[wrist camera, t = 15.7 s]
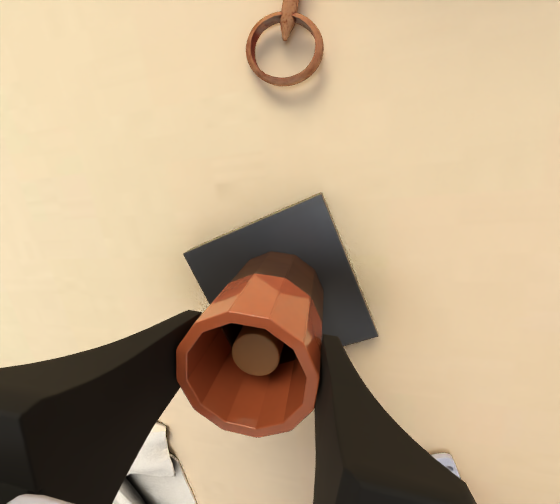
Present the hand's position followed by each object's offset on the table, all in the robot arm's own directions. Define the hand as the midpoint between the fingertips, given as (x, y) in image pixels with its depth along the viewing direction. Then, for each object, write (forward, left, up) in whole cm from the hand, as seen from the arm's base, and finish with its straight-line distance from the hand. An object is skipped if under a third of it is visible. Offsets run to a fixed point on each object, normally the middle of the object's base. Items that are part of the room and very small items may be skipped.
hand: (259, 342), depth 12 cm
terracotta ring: (0, 0, -1) cm, 1 cm away
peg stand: (0, 0, -6) cm, 6 cm away
